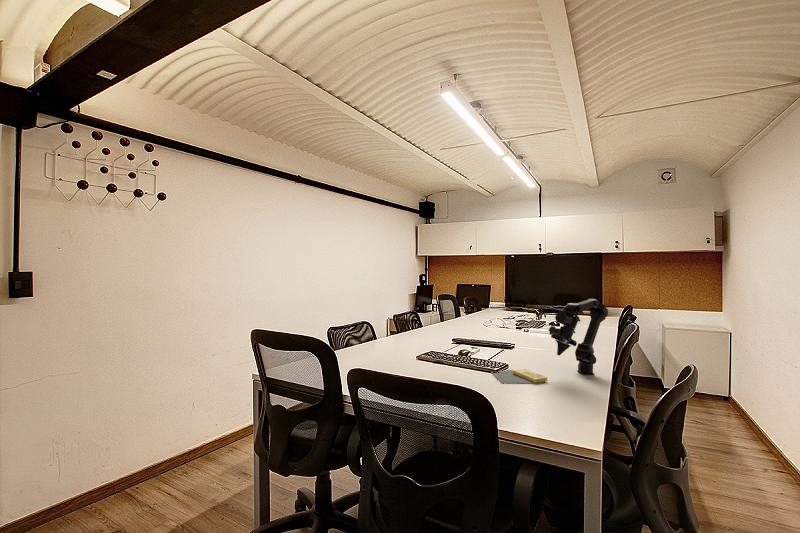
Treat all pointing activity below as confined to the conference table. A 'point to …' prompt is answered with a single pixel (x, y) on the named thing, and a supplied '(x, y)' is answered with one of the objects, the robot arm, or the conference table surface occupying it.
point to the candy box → (530, 375)
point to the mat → (512, 378)
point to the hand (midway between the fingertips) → (558, 355)
